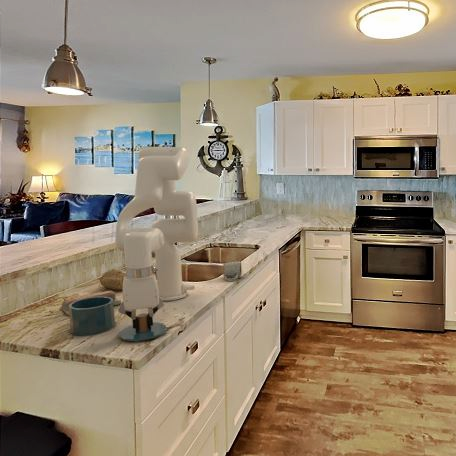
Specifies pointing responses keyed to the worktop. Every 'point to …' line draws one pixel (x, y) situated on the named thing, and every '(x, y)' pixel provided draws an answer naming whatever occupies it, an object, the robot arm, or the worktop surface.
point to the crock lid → (142, 330)
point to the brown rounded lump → (113, 279)
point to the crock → (91, 315)
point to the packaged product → (101, 294)
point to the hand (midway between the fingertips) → (143, 328)
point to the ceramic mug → (232, 270)
